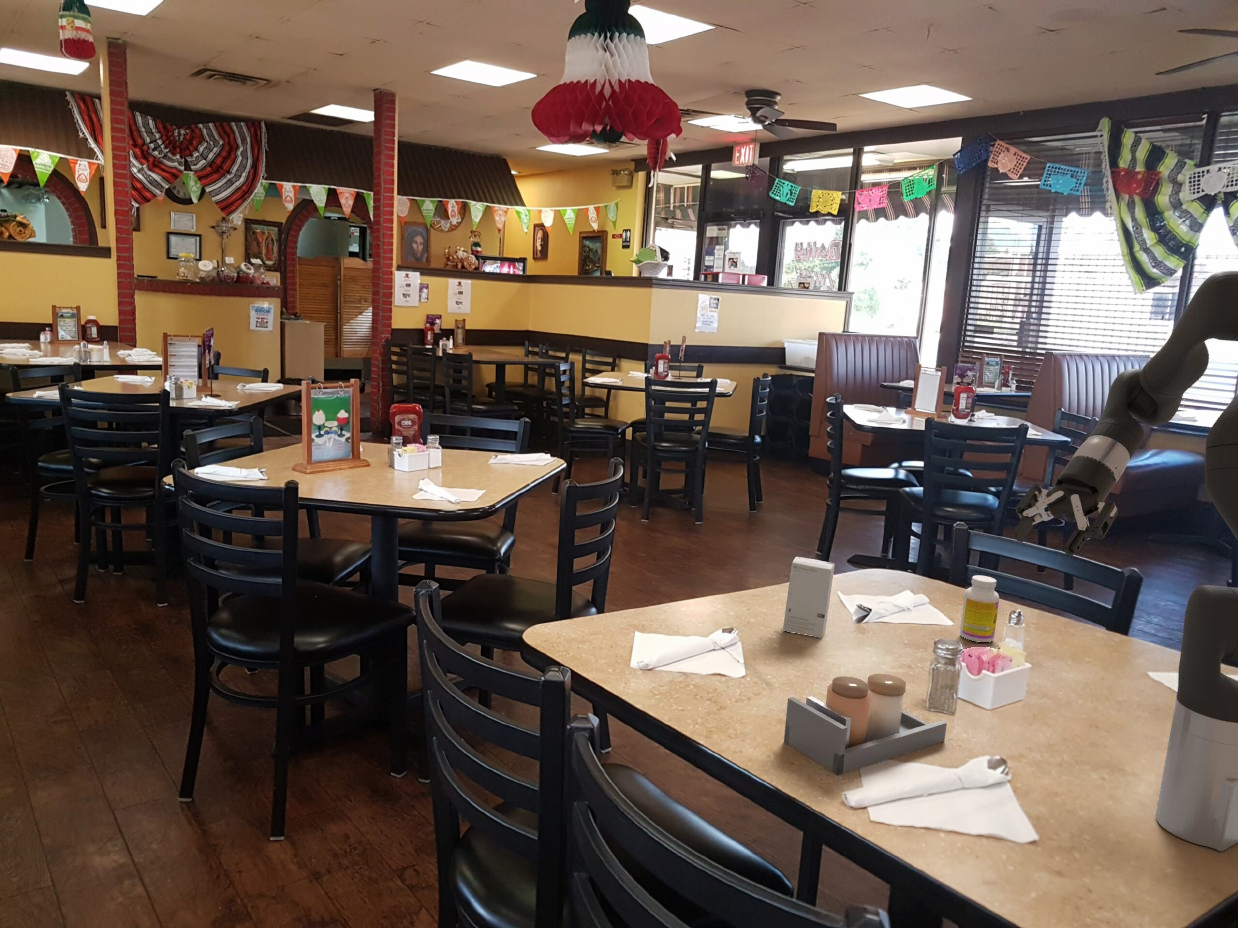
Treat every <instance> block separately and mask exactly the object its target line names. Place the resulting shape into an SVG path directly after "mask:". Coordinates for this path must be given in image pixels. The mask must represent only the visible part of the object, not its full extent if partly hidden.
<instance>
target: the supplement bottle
mask: <svg viewBox="0 0 1238 928" xmlns="http://www.w3.org/2000/svg"><path fill="white" fill-rule="evenodd" d="M970 582H971V586H970V587H968V588H967V589H966V590H965V591H964V597H963V606H962V615H961V621H960V631H959V634H960V636H961V637H962V638H963V637H964V638H963V639H965V638H966V639H965V640H967V639H969V640H973V641H980V642H989V643H991V641H992V642H993V641H994V639H995V634H996V626H997V620H998V612H999V604H1000V603H999V602H1000V596H999V593H998V592H997V591H995V589H996V586H997V580H996V579H995V578H993V577H991V576H986V575H978V574H977V575H973V576H972V577H971V581H970ZM969 640H968V641H969Z"/></svg>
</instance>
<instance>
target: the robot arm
mask: <svg viewBox="0 0 1238 928" xmlns="http://www.w3.org/2000/svg"><path fill="white" fill-rule="evenodd" d="M1210 339H1211V340H1213V339H1216V340H1218V341H1219V340H1220V341H1228V342H1238V270H1224V271H1217V272H1214V273H1212V274H1210V275H1209V276H1208V277H1207V278H1206V279H1204V280H1203V282H1202V283H1201V284H1200V286H1198V289H1197V290H1196V291H1195V293H1194V294H1193V296H1192V298H1191V299H1190V301H1189V303H1188V305H1187V306H1186V308H1185V310H1184V311H1183V313H1182V314H1181V316H1180V318H1179V319H1178V322H1177V324H1175V327H1174V329H1173V330H1172V333H1171V334H1170V336H1169V338H1168V339H1167V341H1166V342H1165V344H1164V345H1163V346H1162V347H1161V348H1160V349H1159V350H1158V351H1157V352H1156V353H1155V354H1154V355H1153V356H1152V357H1151V358H1150V359H1149V360H1148V361H1147V362H1146V364H1144V366H1143V367H1142V369H1139V368H1129V369H1126V370H1124V371H1121V372H1120V373H1119V374H1118V375H1117V376H1116V377H1115V378H1114V380H1113V381H1112V384H1111V385H1110V388H1109V390H1108V394H1107V398H1106V402H1105V407H1104V408H1103V409H1104V410H1103V412H1102V415H1101V417H1100V418H1099V421H1098V423H1097V424H1096V426H1095V428H1094V429H1093V430H1092V432H1091V433H1090V434H1089V436H1088V437H1087V438H1086V440H1085V441H1084V442H1083V443H1082V444H1081V445H1080V446H1079V447H1078V448H1077V450H1076V451H1075V453H1074V454H1073V456H1072V457H1071V459H1070V460H1069V461H1068V462H1067V464H1066V466H1065V467H1064V468H1063V470H1062V471H1061V473H1060V474H1059V475H1058V477H1057V479H1056V483H1055V485H1054V486H1053V487H1052V488H1050V489H1045V488H1042V487H1041V486H1040V484H1039V483H1034V484H1033V485H1032V486H1031V487H1030V488H1029V490H1028V491H1027V492H1026V493H1025V494H1024V496H1022V497H1021V499H1020V501H1019V502H1018V503H1017V505H1015V508H1014V509H1015V511H1016V513H1017V516H1018V517H1019V519H1020V520H1019V521H1018V523H1017V524H1016V526H1015V527H1014V528H1013V531H1012V533H1013V536H1014V538H1015V540H1016V542H1019V543H1023V542H1024V540H1025V539H1026V538H1027V537H1028V535H1029V534H1030V532H1031V531H1032V529H1033V528H1034V525H1035V524H1038V523H1040V522H1042V521H1043V522H1044V521H1045V522H1047V521H1049V520H1051V519H1053V518H1054V519H1055V520H1061V521H1063V520H1064V521H1067V522H1068V523H1072V524H1073V523H1074V522H1076V523H1077V529H1074V531H1073V532H1072V534H1071V535H1070V536H1069V538H1068V540H1067V541H1066V542H1065V544H1064V545H1063V551H1064V553H1065V555H1066V556H1068V557H1073V556H1074V555H1076V554H1078V553H1079V552H1080V550H1081V549H1082V547H1083V546H1084V544H1085V543H1086V542H1087V541H1088V540H1090V539H1094V538H1095V539H1097V540H1098V541H1099V540H1100V541H1101V540H1103V539H1104V538H1105V537H1106V535H1107V533H1108V531H1109V530H1110V529H1111V527H1112V525H1113V522H1114V521H1115V520H1116V518H1117V516H1118V515H1119V511H1118V508H1117V506H1116V504H1115V502H1114V500H1111V499H1109V500H1106V499H1107V497H1108V495H1109V494H1110V493H1111V491H1112V490H1113V488H1114V487H1115V485H1116V484H1117V482H1118V481H1119V480H1120V478H1121V477H1122V476H1123V473H1124V472H1125V470H1126V468H1127V466H1128V463H1129V462H1130V460H1132V459H1131V458H1132V457H1133V456H1134V454H1135V452H1136V451H1137V450H1138V449H1139V447H1140V446H1141V443H1142V442H1143V441H1144V438H1145V429H1144V428H1143V427H1142V425H1141V424H1140V423H1139V422H1141V423H1142V424H1144V425H1146V426H1149V427H1160V426H1163V425H1166V424H1167V423H1169V422H1170V421H1171V420H1172V419H1173V418H1174V416H1175V415H1176V413H1177V412H1178V409H1180V406H1181V403H1182V399H1183V397H1184V394H1185V393H1186V391H1188V390H1189V389H1190V388H1191V387H1192V386H1193V385H1194V384H1196V383H1197V382H1198V381H1199V380H1200V379H1201V378H1202V377H1203V376H1204V374H1205V373H1206V371H1207V369H1208V366H1209V363H1210V354H1209V349H1208V346H1207V344H1206V341H1208V340H1210ZM1204 455H1205V456H1204V459H1205V460H1204V461H1205V463H1204V484H1205V489H1206V492H1207V494H1208V497H1209V498H1210V500H1211V502H1212V503H1213V506H1214V507H1215V508H1216V511H1218V513H1219V515H1220V516H1221V517H1222V519H1223V520H1224V522H1225V523H1226V525H1227V526H1228V528H1229V530H1231V532H1232V534H1233V536H1234V537H1235V539H1236V541H1238V393H1237V394H1236V395H1235V397H1234V398H1233V399H1232V400H1231V402H1230V403H1229V404H1227V406H1226V408H1225V409H1224V410H1223V411H1222V412H1221V414H1220V415H1219V416H1218V418H1217V419H1216V420H1215V422H1214V423H1213V424H1212V426H1211V428H1210V430H1209V432H1208V434H1207V436H1206V440H1205V454H1204ZM1105 500H1106V501H1105ZM1045 508H1048V511H1045ZM1097 512H1098V515H1097V517H1096V518H1095V520H1094V522H1093V523H1092V524H1091V525H1090V522H1089V519H1088V517H1089V516H1091V515H1093V514H1095V513H1097ZM1184 612H1185V613H1184V620H1183V628H1182V629H1183V631H1182V639H1181V640H1182V641H1181V648H1180V656H1179V662H1178V663H1179V664H1178V671H1177V672H1178V675H1177V678H1178V679H1177V692H1176V698H1175V703H1174V710H1173V716H1172V720H1171V724H1170V725H1171V726H1170V732H1169V737H1168V744H1167V748H1166V749H1167V750H1166V754H1165V760H1164V765H1163V771H1162V777H1161V778H1162V779H1161V783H1160V787H1159V788H1160V789H1159V795H1158V799H1157V804H1156V806H1157V807H1156V811H1155V819H1156V821H1157V823H1158V824H1159V825H1160V826H1161V827H1162V828H1164V830H1166V831H1167V832H1169V833H1170V834H1172V835H1173V836H1176V837H1178V838H1180V839H1183V840H1185V841H1187V842H1190V843H1193V844H1196V845H1200V846H1203V847H1207V848H1211V849H1214V850H1215V851H1218V852H1224V851H1225V850H1227V849H1229V848H1230V847H1233V846H1234V845H1237V844H1238V680H1237V679H1235V678H1233V677H1231V676H1228V675H1227V674H1224V673H1223V672H1221V670H1222V669H1221V667H1222V660H1225V661H1227V660H1229V661H1237V662H1238V587H1231V586H1225V585H1223V586H1222V585H1214V584H1213V585H1211V584H1203V585H1200V586H1198V587H1196V588H1195V589H1194V590H1193V591H1192V593H1191V594H1190V595H1189V598H1188V600H1187V604H1186V608H1185V611H1184Z"/></svg>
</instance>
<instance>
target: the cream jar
mask: <svg viewBox="0 0 1238 928" xmlns="http://www.w3.org/2000/svg"><path fill="white" fill-rule="evenodd" d="M866 683H867V684H868V686H869V687H868V690H869V691H870V692H871V693H872V699H871V708H870V717H869V726H868V735H867V739H869V740H871V741H874V740H877V739H881V738H884V737H887V736H891V735H894V734H897V733H900V724H901V714H902V710H903V703H904V694H905V693H906V689H907V683H906V681H905V680H904V679H902V678H901V677H899V676H897V675H896V676H895V675H893V674H888V673H874V674H870V675H869V676H868V677H867V682H866Z"/></svg>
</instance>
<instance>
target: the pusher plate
mask: <svg viewBox="0 0 1238 928" xmlns="http://www.w3.org/2000/svg"><path fill="white" fill-rule="evenodd" d="M805 699H806V700H805V704H807V705H808V706H810V707H812V708H814V709H815V710H817V711H819V712H821V713H823V714H824V715H826V716H828V717H830V718H831V719H833V720H835V721H837V722H839V723H840V724H842V725H844V726H846V727H847V736H846V745H845V749H847V748H848V744H849V735H850V725H851V717H849V716H847V715H845V714H843V713H842V712H840V711H838V710H836V709H834V708H832V707H831V706H829V705H827V704H826V702H823V701H821V700H819V699H818V698H816V697H814V696H812V695H810V696H806V698H805Z"/></svg>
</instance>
